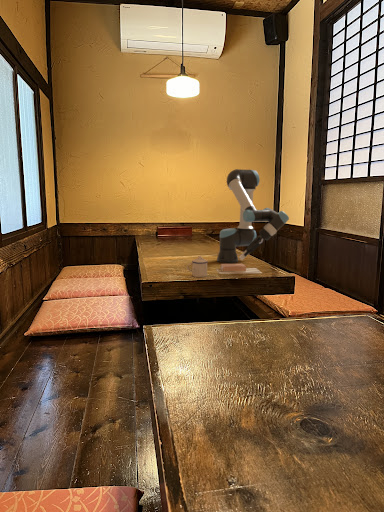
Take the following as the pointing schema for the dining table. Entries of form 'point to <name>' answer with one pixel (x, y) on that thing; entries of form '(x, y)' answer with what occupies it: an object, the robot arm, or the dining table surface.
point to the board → (248, 270)
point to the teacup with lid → (199, 267)
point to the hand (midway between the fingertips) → (240, 259)
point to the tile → (233, 267)
